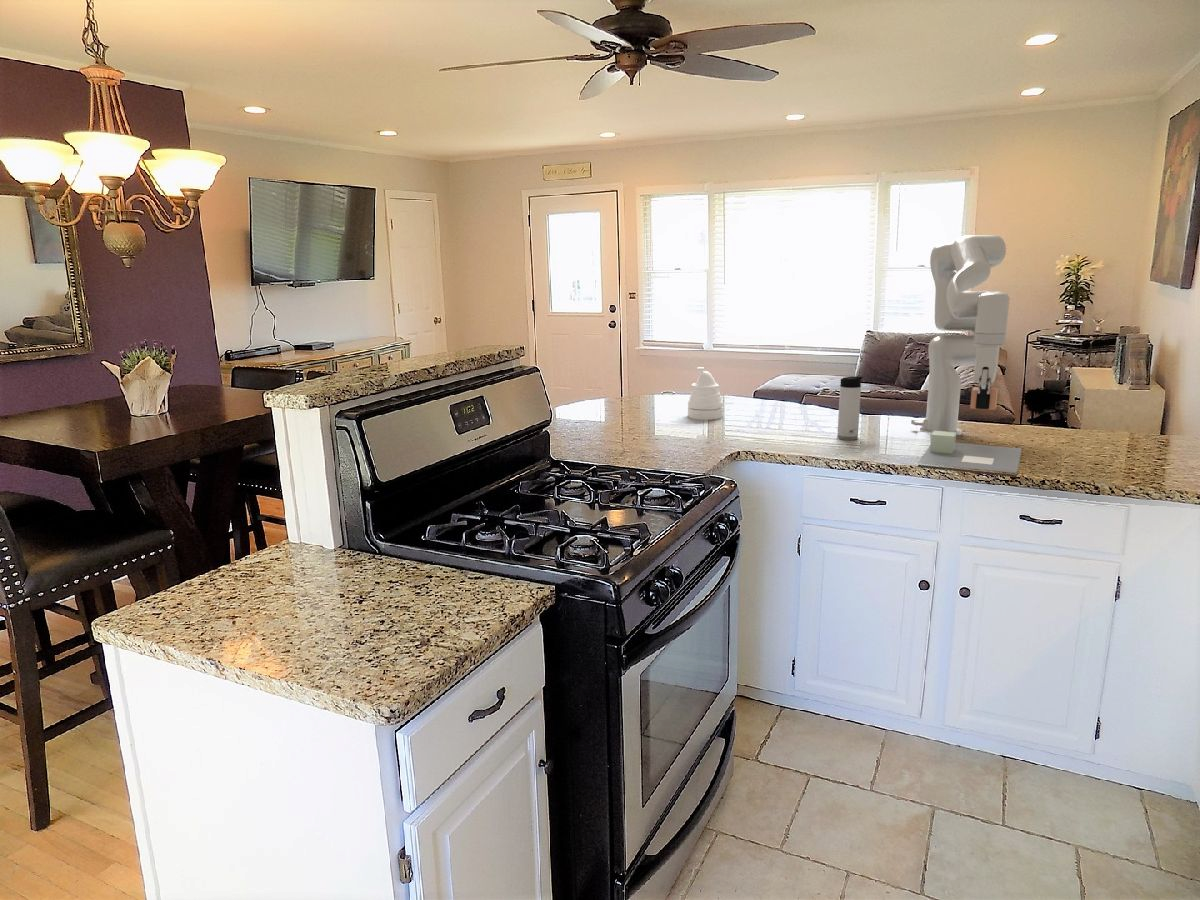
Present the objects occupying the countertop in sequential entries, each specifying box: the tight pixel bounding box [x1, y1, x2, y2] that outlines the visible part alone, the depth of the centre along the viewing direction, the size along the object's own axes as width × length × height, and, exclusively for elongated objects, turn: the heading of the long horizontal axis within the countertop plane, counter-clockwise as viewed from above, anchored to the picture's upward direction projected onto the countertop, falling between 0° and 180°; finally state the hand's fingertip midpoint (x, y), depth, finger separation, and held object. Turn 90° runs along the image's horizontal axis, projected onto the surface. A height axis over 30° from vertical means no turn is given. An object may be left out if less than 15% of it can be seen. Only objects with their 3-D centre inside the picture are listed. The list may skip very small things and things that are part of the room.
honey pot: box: [687, 366, 724, 421], centre depth 288 cm, size 13×13×18 cm
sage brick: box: [929, 431, 957, 454], centre depth 228 cm, size 6×6×5 cm
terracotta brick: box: [969, 386, 999, 411], centre depth 213 cm, size 6×6×5 cm
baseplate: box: [917, 442, 1023, 478], centre depth 222 cm, size 24×30×1 cm
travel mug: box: [837, 375, 863, 441], centre depth 249 cm, size 6×7×20 cm
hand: (983, 406), depth 213 cm, fingers closed on terracotta brick, 5 cm apart
